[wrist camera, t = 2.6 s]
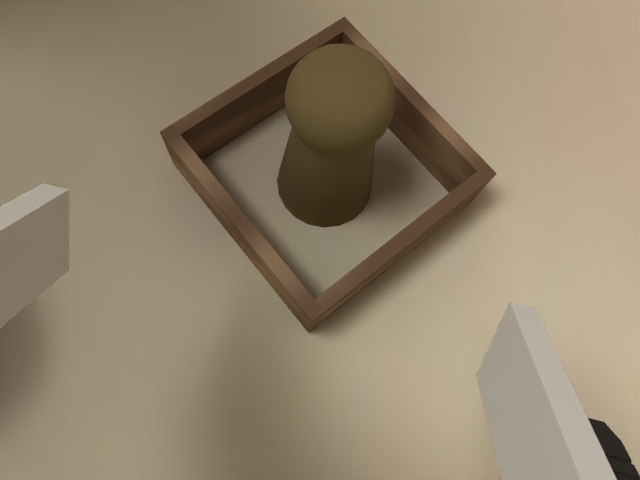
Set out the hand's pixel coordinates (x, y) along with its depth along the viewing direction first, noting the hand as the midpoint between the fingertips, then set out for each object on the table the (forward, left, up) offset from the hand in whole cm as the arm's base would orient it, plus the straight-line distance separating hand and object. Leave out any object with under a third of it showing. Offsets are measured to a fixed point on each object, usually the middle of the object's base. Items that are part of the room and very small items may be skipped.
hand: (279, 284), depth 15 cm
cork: (-6, +9, -15) cm, 19 cm away
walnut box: (-6, +9, -15) cm, 19 cm away
